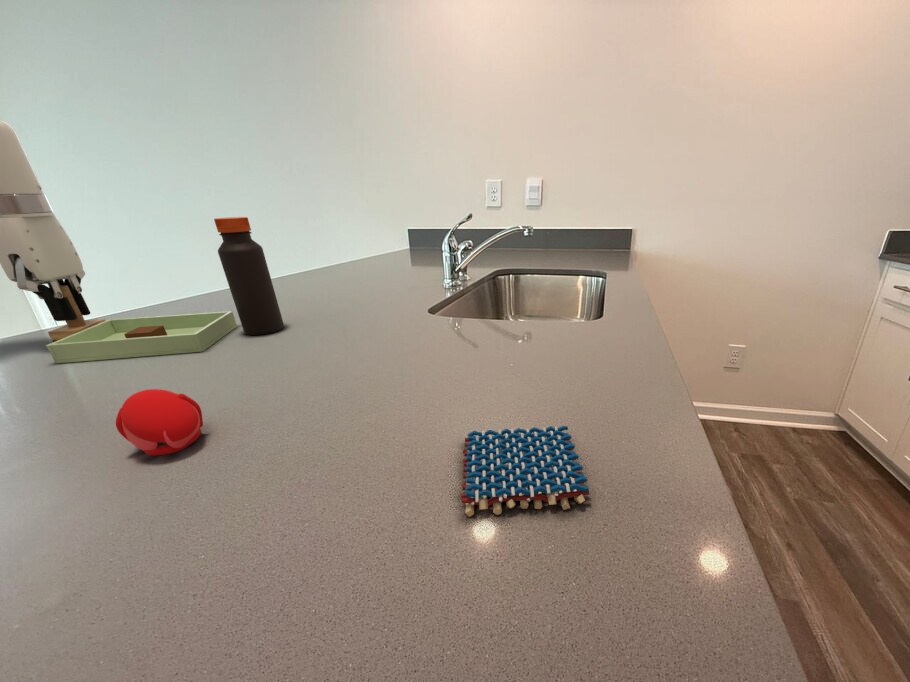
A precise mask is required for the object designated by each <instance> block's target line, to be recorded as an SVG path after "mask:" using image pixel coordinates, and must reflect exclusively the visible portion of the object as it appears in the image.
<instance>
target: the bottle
mask: <svg viewBox="0 0 910 682" xmlns="http://www.w3.org/2000/svg"><path fill="white" fill-rule="evenodd" d="M213 220H214V224H215V227H216V230H217V233H219V234H218V235H219V236H220V237H221V238H222V239H221V240H222V243H221V244H220V245H219V247H218V249H217V254H218V257H219V260H220V263H221V266H222V269H223V272H224V275H225V278H226V282H227V284H228V287H229V290H230V293H231V297H232V299H233V302H234V306H235V310H236V312H237V315H238V317H239V321H240V324H241V327H242V331H243V332H244V333H245V335H249V336H262V335H263V336H264V335H269V334H273V333H277V332H279V331H282V329H284V327H285V323H284V319H283V317H282V312H281V309H280V306H279V302H278V298H277V296H276V292H275V289H274V285H273V284H274V283H273V281H272V277H271V274H270V270H269V267H268V263H267V259H266V256H265V253H264V248H263V246H262V245H261V244H259V243H258V242H256V241H255V240H254V239H253V238H252V235H251V234H252V228H251V224H250V222H249V221H250V220H249V218H248V216H232V217H217V218H214V219H213Z"/></svg>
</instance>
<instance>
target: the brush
mask: <svg viewBox="0 0 910 682" xmlns="http://www.w3.org/2000/svg"><path fill="white" fill-rule="evenodd" d="M59 288H60V290H61V292H62V295H63V297H67V298H68V300H69V302H70V304H71V306H72V308H73V310H74V312H75V314H76V316H77V319H75V320H68V321H65V323H66V324H65V325H63V326H60V327H57V328H55V329H52V330H50V331H47V334H48V336H49V337H50V339H51V341H52V343H53V342H56V341H58V340H60V339H63V338H65V337H68V336H70V335H73V334H75V333H77V332H80V331H82V330H85V329H87V328H90V327H92V326H94V325H97V324H99V323H102V322H104V321H106V319H105V318H99V319H97V318H96V319H85V318H84V315H82V314H81V312H80V310H79V308H78V306H77V304H76V302H75V300H74V298H73V296H72V294H71V292H70V289H69V287H68V286H67V285H62V286H59Z"/></svg>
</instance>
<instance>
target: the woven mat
mask: <svg viewBox="0 0 910 682" xmlns="http://www.w3.org/2000/svg"><path fill="white" fill-rule="evenodd" d="M568 430H569V426H568V425H562V426H555V427H553V426H552V425H550V424H549V425H547V427H542V429H541V428H538V427H536V425H532V427H531V428H525V429H524V428H523V427H518V428H516V429H514V428H511V429H508V427H504V429H503V430H501V429H498V431H495V430H493V429H492V428H489V429H488V430H487V431H485V430H482V431H481V432H480V430H478V429H477V430H472V431H471V432H468V433H467V437H464V447H465V448H463V450H462V453H463V454H464V455H463V456H464V457H465V458H462V463H463V468H462V469H463V472H462V478H463V479H465V481H463V482H462V483H461V486H462V488H461V489H462V491H465V492H463V493H461V496H460V497H461V504H465V509H464V510H465V511H464V514H465V515H466V516H467V517H469V518H470V517H472V516H473V515H475V505H476V506H478V509H479V510H488V509H489V507H490V506H492V513H494V514H495V515H496V516H499V515H501V514H502V511H503V510H502V503H503V502H506V507H507V508H509V509H513V508H515V506H516V502H517V501H519V504H520V506H519V507H520V508H521V509H522V510H525V509H528V507H529V502H531V501H533V506H534V509H536V510H541V509H542V508H543V502H545V503H547V504H548V505H549V506H551V505H552V506H553V505H557V502H558V501H559V500H560V506H561V508H562V510H563V511H565V510H569V509H571V506H570V503H569V498H573V499H574V501H575V502H576V503H578V504H579V505H580V504H582V503H584V502H585V501H586V500H585V497H584V496H589V495H590V489H589V486H588V485H584V484H585V483H587V482H588V477H587V476H585V475H584V473H583V469H584V466H583V465H582V464H580V462H579V461H576V460H578V459H579V457H580V456H579V454H578V453H576V451H574V449H575V448H576V445H575V444H574V443H573V442H572V435H571V434H569V432H563V431H568ZM542 493H544V494H542ZM488 497H489V498H488Z"/></svg>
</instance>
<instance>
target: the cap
mask: <svg viewBox="0 0 910 682" xmlns="http://www.w3.org/2000/svg"><path fill="white" fill-rule="evenodd" d="M203 426H204V420H203V412H202V409H201V407H200V404H199V403H198V402H197V401H196V400H194V399H193V398H191V397H189V396H188V395H186V394H185V393H177V392H173V391H171V390H166V389H161V388H150V389H143V390H140V391H137V392H135V393H132V394H131V395H130V396H128V398H126V400H124V402H123V404H122V406H121V407H120V408H119V410H118V412H117V414H116V417H115V427H116V430H117V431H118V433H119V434H120V435H121V436H122V437H123V438H124V439H125V440H127V441H128V442H130V443H131V444H132V445H133V446H135V447H136V448H137V449H139V450H141V451H143V452H144V453H145V454H146V455H149V456H164V455H169V454H173V453H176V452H180V451H182V450H184V449H185V448H187V447H188V446H190V445H191V444H193V443H194V442H195V441H197V440H198V439H199V437H200V436H201V433H202V432H201V431H202V430H201V428H202V427H203ZM158 443H159V444H160V443H162V444H165V443H166V444H167V445H162V446H158Z"/></svg>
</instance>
